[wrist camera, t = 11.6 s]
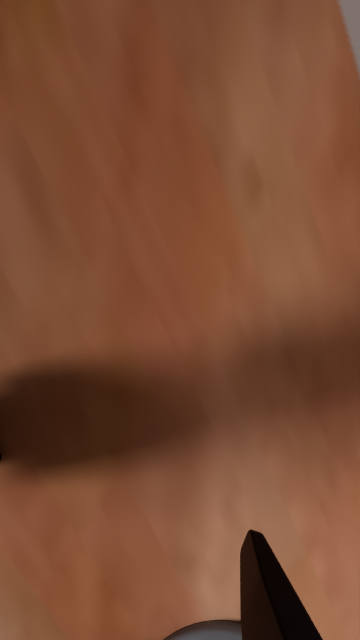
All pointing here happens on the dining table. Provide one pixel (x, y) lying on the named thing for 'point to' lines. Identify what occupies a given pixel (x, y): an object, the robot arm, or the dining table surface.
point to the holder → (209, 631)
